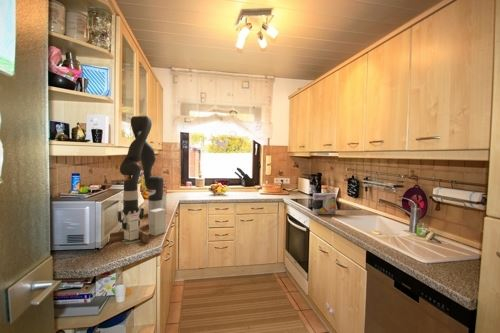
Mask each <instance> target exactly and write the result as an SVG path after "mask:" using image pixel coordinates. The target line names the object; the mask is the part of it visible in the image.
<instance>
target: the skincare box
mask: <svg viewBox="0 0 500 333" xmlns="http://www.w3.org/2000/svg"><path fill="white" fill-rule="evenodd" d="M166 215H167V209H166V210H165V209H161V208H158V209H154V210H150V211H149V225H148V228H149V229H148V234H149V235H152V236H154V237H155V236H159V235H161V234H165V233H166V232H167V231H166V230H167V229H166V227H167V226H166V224H167V223H166Z"/></svg>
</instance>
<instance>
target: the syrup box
mask: <svg viewBox="0 0 500 333" xmlns="http://www.w3.org/2000/svg"><path fill="white" fill-rule="evenodd" d="M122 215H123V216H124V217H126V215H125V214H124V213H122ZM123 216H122V217H123ZM138 216H139V212H137V213H131V214H129V215H127V220H126V222H125V223H126V229H125V230H124V229H123V231H124V239H126V240H134V239H138V238H139V235H138V229H139V227H138Z"/></svg>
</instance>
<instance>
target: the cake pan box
mask: <svg viewBox="0 0 500 333" xmlns="http://www.w3.org/2000/svg"><path fill="white" fill-rule="evenodd" d="M336 197H337V194H336V193H334V192H319V193H316V192H315V193H312V214H313V215H314V216H319V215H318V214H331V215H336V208H337V207H336V201H337V198H336Z"/></svg>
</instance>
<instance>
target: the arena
mask: <svg viewBox="0 0 500 333" xmlns="http://www.w3.org/2000/svg"><path fill="white" fill-rule="evenodd" d="M138 235H139V238H137V239H134V240H126V239H124V230H122V231H120V230H119V231H115V232H110V239H109V242H108V241H107V243H108V244H111V243H117V242H120V241H121V242H123V243H124V244H125V245H130V244H134V243H138V242H144V243H145V244H148V245H149V244H150V234H149V232H148V233H147V232H146V231H144V230H142V229H140V228H138Z"/></svg>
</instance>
